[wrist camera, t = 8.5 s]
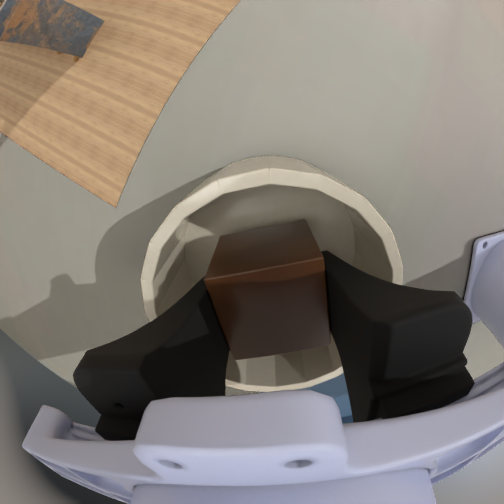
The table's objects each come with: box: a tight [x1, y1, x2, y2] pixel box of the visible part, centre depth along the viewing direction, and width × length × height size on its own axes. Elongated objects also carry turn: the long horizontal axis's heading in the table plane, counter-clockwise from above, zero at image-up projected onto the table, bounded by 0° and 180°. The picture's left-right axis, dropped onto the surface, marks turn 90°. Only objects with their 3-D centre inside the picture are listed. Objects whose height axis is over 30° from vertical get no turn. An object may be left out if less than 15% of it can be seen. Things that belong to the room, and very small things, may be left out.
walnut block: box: [204, 219, 331, 360], centre depth 11 cm, size 4×4×4 cm
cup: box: [141, 156, 403, 392], centre depth 12 cm, size 10×10×6 cm
